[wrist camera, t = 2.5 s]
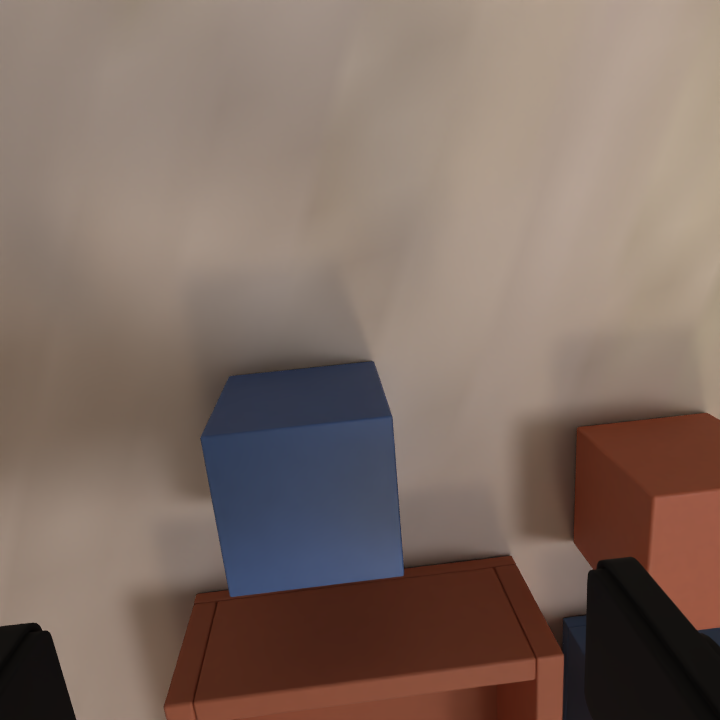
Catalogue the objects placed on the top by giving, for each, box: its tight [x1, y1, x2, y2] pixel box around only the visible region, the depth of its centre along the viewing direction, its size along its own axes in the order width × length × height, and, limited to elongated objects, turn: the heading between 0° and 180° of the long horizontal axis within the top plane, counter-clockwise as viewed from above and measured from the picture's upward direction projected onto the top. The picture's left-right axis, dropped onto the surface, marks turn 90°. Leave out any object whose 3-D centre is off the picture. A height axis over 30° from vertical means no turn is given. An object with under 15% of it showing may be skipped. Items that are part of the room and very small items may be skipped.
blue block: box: [200, 361, 404, 597], centre depth 16 cm, size 4×4×4 cm
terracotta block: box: [574, 413, 720, 630], centre depth 17 cm, size 4×4×4 cm
